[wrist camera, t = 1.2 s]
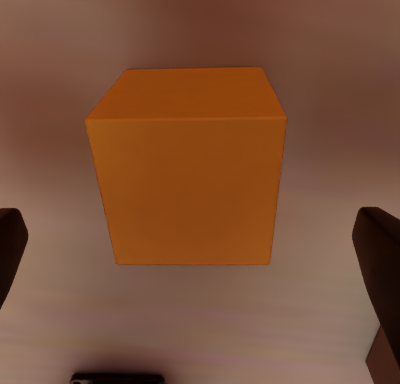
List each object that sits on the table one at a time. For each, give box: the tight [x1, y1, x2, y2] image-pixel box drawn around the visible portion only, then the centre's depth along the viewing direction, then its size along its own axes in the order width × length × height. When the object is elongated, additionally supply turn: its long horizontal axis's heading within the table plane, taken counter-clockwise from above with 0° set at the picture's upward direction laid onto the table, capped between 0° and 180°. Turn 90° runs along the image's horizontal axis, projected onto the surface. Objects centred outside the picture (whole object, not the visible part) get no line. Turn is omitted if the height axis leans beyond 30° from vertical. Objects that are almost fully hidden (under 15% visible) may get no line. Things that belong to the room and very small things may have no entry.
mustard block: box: [85, 67, 287, 265], centre depth 12 cm, size 5×5×5 cm
